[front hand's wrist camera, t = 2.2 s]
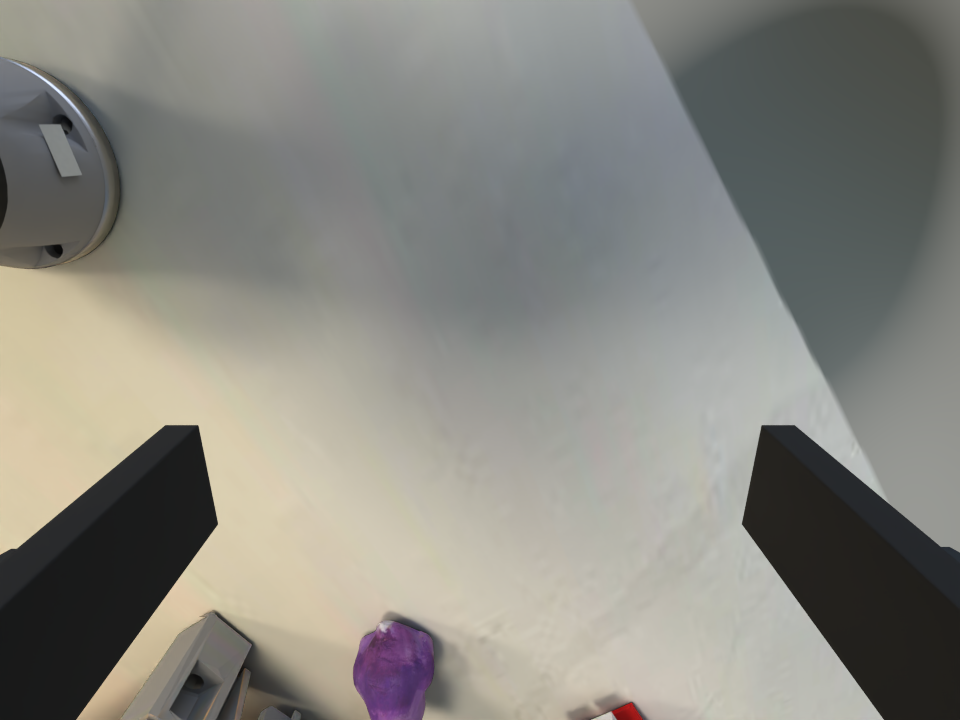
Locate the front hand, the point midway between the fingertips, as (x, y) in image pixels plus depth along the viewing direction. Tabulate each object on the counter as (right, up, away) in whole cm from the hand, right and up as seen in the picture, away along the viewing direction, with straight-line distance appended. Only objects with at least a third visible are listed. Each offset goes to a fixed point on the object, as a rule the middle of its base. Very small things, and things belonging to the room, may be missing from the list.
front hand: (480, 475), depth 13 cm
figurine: (-8, -29, +47) cm, 56 cm away
